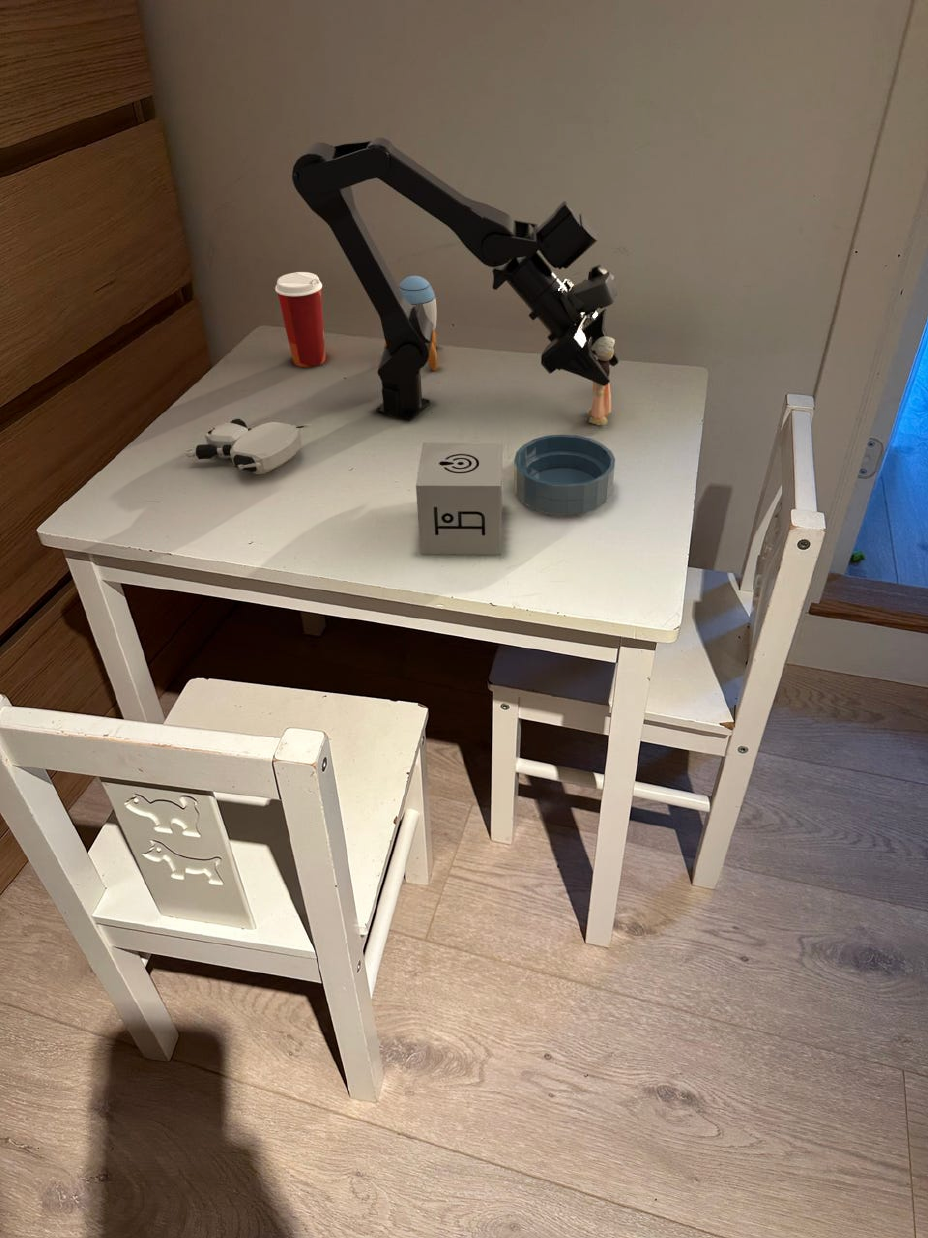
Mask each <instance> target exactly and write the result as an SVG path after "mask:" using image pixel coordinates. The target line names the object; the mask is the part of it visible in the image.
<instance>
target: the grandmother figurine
mask: <svg viewBox="0 0 928 1238" xmlns="http://www.w3.org/2000/svg"><path fill="white" fill-rule="evenodd" d="M615 341H616V340H615V338H613V337H612V336H608V337H601V338H599V339H598V340H597V341H596V342H595V343H594V344H593V346H592V348H591V349H592V350H593V351H594V350H595V352H596V355H595V357H596V359H597V361H598V362H599V364H600V365H601V367H602V368H603V370H604V371H605V373H606V375H607V376H608V378H609V379H610V372H611V370H610V364H609V360H610V359H611V358H612V357H613V354H614V352H615V349H614V346H615V343H616V342H615ZM592 394H593V395H592V396H593V399H592V402H591V408H590V409H589V410H588V412H587V414H588V416H590V418H589V419H588V423H590V424H594V425H596V426H597V425H598V426H605V425H607V424H608V419H607V417H606V416H607V415H609V414H611V412H612V396H611V387H610V382H609V383H608V384H607V385H605V386H603V385H600V384H598V383H596V382H593V381H592Z"/></svg>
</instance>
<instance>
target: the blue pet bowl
mask: <svg viewBox="0 0 928 1238" xmlns="http://www.w3.org/2000/svg"><path fill="white" fill-rule="evenodd" d="M513 461H514V462H513V490H514V493H515V496H516V498H517V499H519V500H520V502H522V503H523V504H524V505H526V506H527V507H529V508H531V509H533V510H535V511H539V512H542V513H545V514H550V515H559V516H572V515H582V514H585V513H589V512H592V511H595V510H597V509H599V508H600V507H602V506H603V505H605V504H606V503H608V501H609V500H610V499H611V497H612V495H613V487H614V486H613V485H614V476H615V467H616V457H615V456H614V454H613V452H612V450H611V449H609V447H607V446H606V445H604V444H603V443H601V442H599V441H597V440H594V439H593V438H589V437H585V436H581V435H576V434H551V435H545V436H541V437H537V438H533V439H531V440H530V441H528V442H525V443H524V444H522V445H521V447H520V448H518V450H517V451H516V452H515V456H514V459H513Z"/></svg>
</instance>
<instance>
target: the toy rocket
mask: <svg viewBox="0 0 928 1238" xmlns="http://www.w3.org/2000/svg"><path fill="white" fill-rule="evenodd" d="M398 288H399V290H400V292H401V294H402V295H403V297H404V298H405V299H406V300H407V301H408V302H409V303H410V304H411V305H412V306H415V305H417V304H418V303H420V302H421V303H422V305H423V307H424V310H425V313H426V316H427V317H428V319H429V320H430V321H431V322H432V323H433V324H434V325H433V330H432V333H433V340H432V345H431V349H430V354H429V358H428V361H427V363H428V365H429V367H430V369H431V371H433V372H436V371H437V368H438V355H437V350H436V346H437V335H436V327H437V299H436V294H435V292H434V289H433V287H432V285H431V284H430V282H429V281H428V280H427V279H425V278H424V277H422V276H419V275H410V276H408V277H406V278H404V279H403V280H402V281H401V282H400V283H399V285H398ZM386 346H387V344H386V342H385V341H384V346H383V350H384V349H385V347H386Z"/></svg>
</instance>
